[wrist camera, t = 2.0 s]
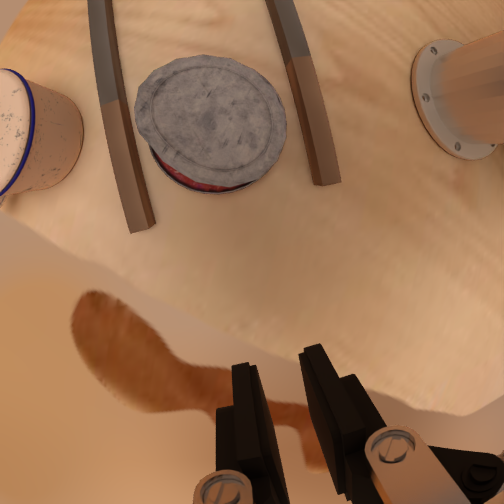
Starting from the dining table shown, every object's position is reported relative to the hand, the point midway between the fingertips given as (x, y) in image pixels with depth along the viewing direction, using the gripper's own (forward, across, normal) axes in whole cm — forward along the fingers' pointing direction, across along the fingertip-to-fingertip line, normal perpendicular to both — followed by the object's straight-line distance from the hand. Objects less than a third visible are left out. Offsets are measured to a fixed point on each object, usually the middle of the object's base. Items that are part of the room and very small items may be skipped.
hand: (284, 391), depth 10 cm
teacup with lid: (+17, +16, -14) cm, 27 cm away
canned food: (+18, 0, -10) cm, 20 cm away
